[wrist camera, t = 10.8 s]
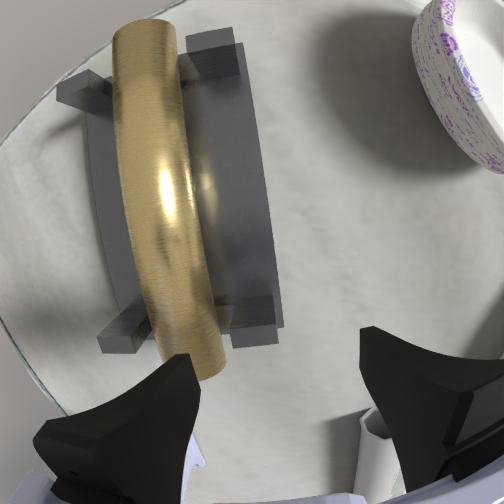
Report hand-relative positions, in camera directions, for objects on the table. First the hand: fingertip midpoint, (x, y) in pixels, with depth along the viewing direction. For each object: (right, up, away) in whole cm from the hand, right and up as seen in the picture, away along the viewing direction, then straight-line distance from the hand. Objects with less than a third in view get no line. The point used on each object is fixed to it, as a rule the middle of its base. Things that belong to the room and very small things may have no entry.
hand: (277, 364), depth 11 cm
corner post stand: (-6, +9, +8) cm, 13 cm away
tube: (+14, -22, +15) cm, 30 cm away
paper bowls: (+18, +19, +6) cm, 26 cm away
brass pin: (-6, +8, +6) cm, 12 cm away
